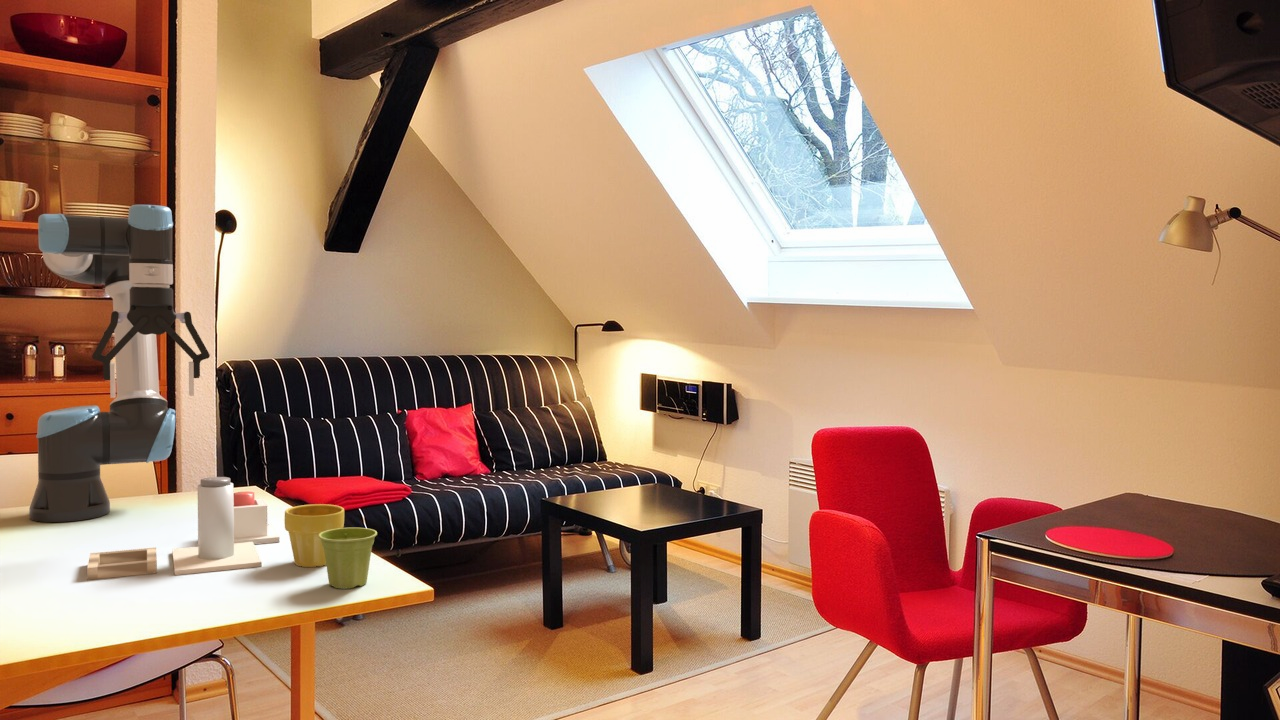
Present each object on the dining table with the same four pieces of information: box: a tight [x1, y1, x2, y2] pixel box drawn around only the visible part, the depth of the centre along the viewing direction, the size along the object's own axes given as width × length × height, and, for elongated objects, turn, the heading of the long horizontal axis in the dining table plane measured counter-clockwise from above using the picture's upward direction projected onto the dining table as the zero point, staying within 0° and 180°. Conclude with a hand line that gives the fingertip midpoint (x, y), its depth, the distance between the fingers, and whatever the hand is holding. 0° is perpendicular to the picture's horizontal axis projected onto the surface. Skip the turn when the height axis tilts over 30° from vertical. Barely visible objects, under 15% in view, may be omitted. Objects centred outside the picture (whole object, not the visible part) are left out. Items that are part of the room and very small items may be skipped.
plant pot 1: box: [284, 503, 345, 568], centre depth 177 cm, size 10×10×10 cm
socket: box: [86, 547, 158, 581], centre depth 172 cm, size 10×10×2 cm
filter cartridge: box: [197, 476, 235, 560], centre depth 178 cm, size 6×6×14 cm
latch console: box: [234, 497, 280, 545], centre depth 194 cm, size 12×12×7 cm
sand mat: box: [172, 542, 263, 576], centre depth 178 cm, size 16×14×1 cm
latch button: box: [234, 491, 255, 507], centre depth 194 cm, size 4×4×5 cm
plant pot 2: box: [319, 527, 378, 589], centre depth 165 cm, size 9×9×9 cm
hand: (152, 396), depth 189 cm, fingers open, 13 cm apart
